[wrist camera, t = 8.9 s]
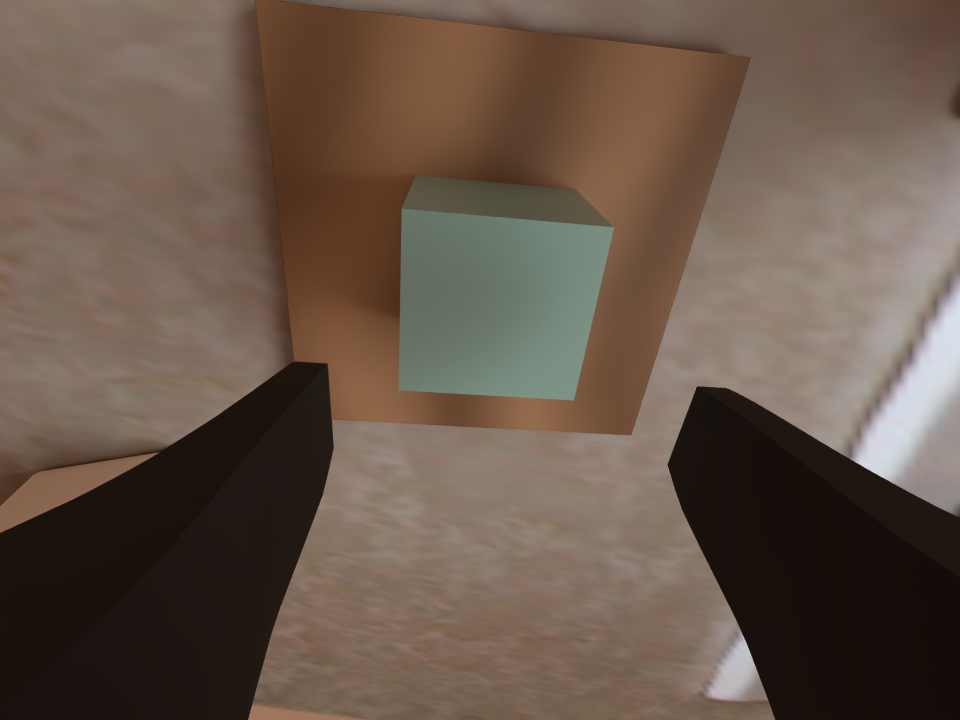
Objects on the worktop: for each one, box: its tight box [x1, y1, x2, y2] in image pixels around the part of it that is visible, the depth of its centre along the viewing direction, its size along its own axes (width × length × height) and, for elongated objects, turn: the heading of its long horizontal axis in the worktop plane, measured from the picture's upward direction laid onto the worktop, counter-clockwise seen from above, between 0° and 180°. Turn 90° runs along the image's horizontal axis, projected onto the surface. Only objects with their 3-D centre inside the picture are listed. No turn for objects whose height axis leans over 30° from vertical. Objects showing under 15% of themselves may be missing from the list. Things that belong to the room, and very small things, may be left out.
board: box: [255, 0, 751, 435], centre depth 18 cm, size 14×14×1 cm
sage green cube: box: [399, 175, 614, 400], centre depth 15 cm, size 5×5×4 cm
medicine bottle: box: [0, 452, 159, 533], centre depth 19 cm, size 7×7×12 cm
